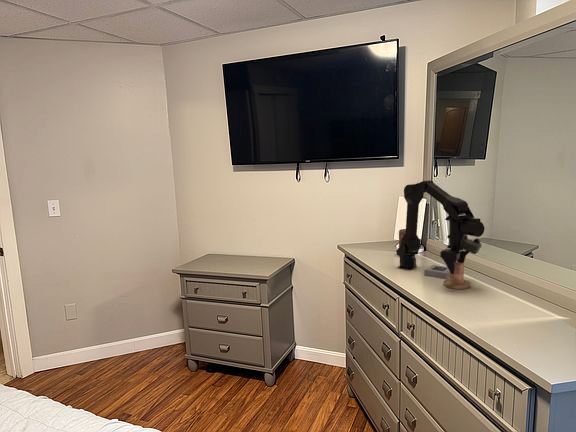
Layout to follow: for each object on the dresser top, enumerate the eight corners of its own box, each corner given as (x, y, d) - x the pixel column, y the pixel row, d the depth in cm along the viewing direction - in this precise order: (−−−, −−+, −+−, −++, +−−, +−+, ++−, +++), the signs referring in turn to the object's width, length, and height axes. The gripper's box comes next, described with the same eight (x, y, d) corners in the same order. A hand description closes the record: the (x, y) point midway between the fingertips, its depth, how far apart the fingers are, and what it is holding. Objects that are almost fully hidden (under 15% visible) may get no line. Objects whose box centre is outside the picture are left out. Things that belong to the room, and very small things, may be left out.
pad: (439, 286, 155) (439, 284, 154) (448, 279, 162) (448, 277, 162) (465, 291, 148) (465, 288, 148) (474, 284, 155) (474, 281, 155)
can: (412, 257, 198) (412, 230, 196) (399, 257, 199) (399, 231, 197) (411, 254, 204) (411, 228, 202) (398, 254, 205) (398, 228, 203)
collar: (424, 275, 169) (424, 269, 169) (433, 269, 176) (433, 264, 176) (446, 279, 163) (446, 273, 162) (454, 273, 170) (454, 267, 169)
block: (449, 283, 155) (449, 264, 153) (453, 280, 157) (453, 261, 156) (460, 285, 152) (460, 265, 151) (463, 282, 155) (463, 263, 153)
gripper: (470, 239, 139) (469, 280, 142) (486, 230, 153) (485, 268, 155) (439, 236, 147) (439, 275, 149) (457, 227, 160) (457, 264, 163)
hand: (456, 270), depth 154 cm, fingers open, 9 cm apart
